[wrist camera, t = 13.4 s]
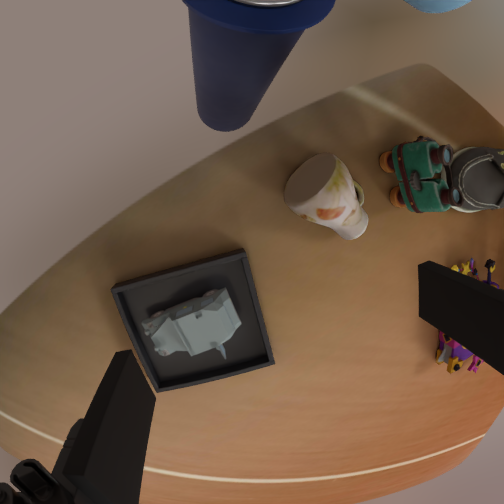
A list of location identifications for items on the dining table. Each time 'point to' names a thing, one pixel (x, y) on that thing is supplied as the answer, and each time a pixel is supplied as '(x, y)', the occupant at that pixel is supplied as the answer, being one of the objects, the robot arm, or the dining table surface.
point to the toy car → (194, 324)
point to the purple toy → (449, 347)
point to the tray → (186, 288)
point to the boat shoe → (478, 178)
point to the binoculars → (422, 176)
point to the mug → (327, 195)
